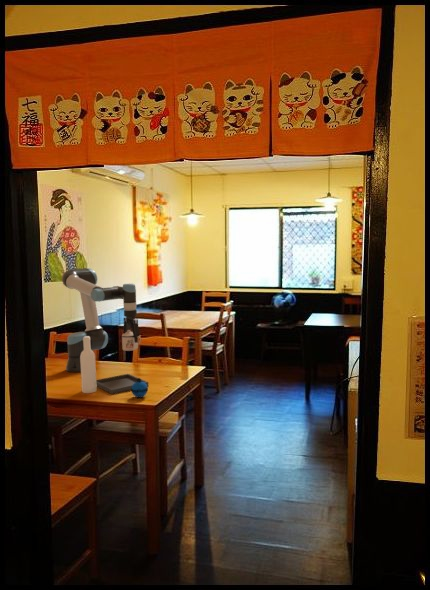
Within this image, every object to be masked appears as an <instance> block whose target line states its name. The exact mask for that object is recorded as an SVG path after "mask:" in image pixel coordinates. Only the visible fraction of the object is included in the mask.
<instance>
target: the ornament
mask: <svg viewBox="0 0 430 590" xmlns="http://www.w3.org/2000/svg"><path fill="white" fill-rule="evenodd" d="M137 378H138V379H137V380H138V381H137V382H135V383H134V384H133V385H132V387H131V390H130V391H131V394H132V395H133V396H135V397H136V398H143V397H145V396H146V395H147V393H148V391H149V386H148V387H147V385H146V383H144V382H143V381H141V378H140V377H137Z"/></svg>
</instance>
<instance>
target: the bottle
mask: <svg viewBox="0 0 430 590" xmlns="http://www.w3.org/2000/svg"><path fill="white" fill-rule="evenodd" d="M83 344H84V350H83V351H82V352H81V355H80V363H81V372H80V376H81V377H80V378H81V392H82V393H84V394H92V393H95V392H97V390H98V389H97V388H98V387H97V384H96V380H97V371H96V370H97V369H96V367H97V366H96V354H95V352H94V350H93V351H92V350H91V345H90V337H89V336H85V337H83Z"/></svg>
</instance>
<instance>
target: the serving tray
mask: <svg viewBox="0 0 430 590" xmlns="http://www.w3.org/2000/svg"><path fill="white" fill-rule="evenodd" d="M138 378H139V377H137V376H135V375H133V374H130V373H125V374H121V375H119V374H118V375H114V376H109V377H106V378H98V379H96V384H97V388H99V389H101V390H103V391H105V392H107V393H109V394H110V395H115V393H116V394H119V393H120V392H121V393H124V392H130V391H131V387H132V385H133V384H134V383H135V382H137V381H138V380H137V379H138ZM140 379H141V378H140ZM141 381H143V382H144V383H146V385H147V387H148V388H149V381H146V380H145V379H141ZM121 393H120V394H121Z"/></svg>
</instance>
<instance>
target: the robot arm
mask: <svg viewBox="0 0 430 590" xmlns="http://www.w3.org/2000/svg"><path fill="white" fill-rule="evenodd" d="M61 281H62V282H61V283H62V284H63V286H64V287H66V288H67V289H71V290H75V291H77V292H79V293H80V299H81V305H82V311H83V316H84V322H85V327H86V329H85V330H84V331H78V332H77V331H76V332H74V333H70V334H68V336H67V337H66V338H67V339H66V340H67V342H66V343H67V355H68V356H67V362H66V365H65V372H68V373H81V363H80V355H81V352H82V351H83V350H84V344H83V337H85V336H89V337H90V345H91V350H92V351H93V352H94V351H97V350H101V349H105V348H106V347H107V344H108V343H109V336H108V333H107V332H106V331H105V330H103V329H104V328H103V327H102V326H101V325H100V320H99V314H98V309H97V303H96V302H99V303H100V302H104V301H112V300H123V329H122V332H123V333H122V334H124V333H126V332H127V330H131V332H133V335H134V336H133V348H137V349H138V348H139V344H138V342H139V337H140V336H141V334H140V329H139V328H140V327H139V319H136V317H137V288H136V284H135V283H124V284H122V286H119V285H116V286H114V285H113V286H112V287H111V286H110V287H102V286H99V285H97V283H98V276H97V273H96V270H94V269H92V268H85V267H84V268H72V269H71V268H70V269H68V270H66V271H65V272H64V273H63V274H62V278H61ZM138 336H139V337H138Z"/></svg>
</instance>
